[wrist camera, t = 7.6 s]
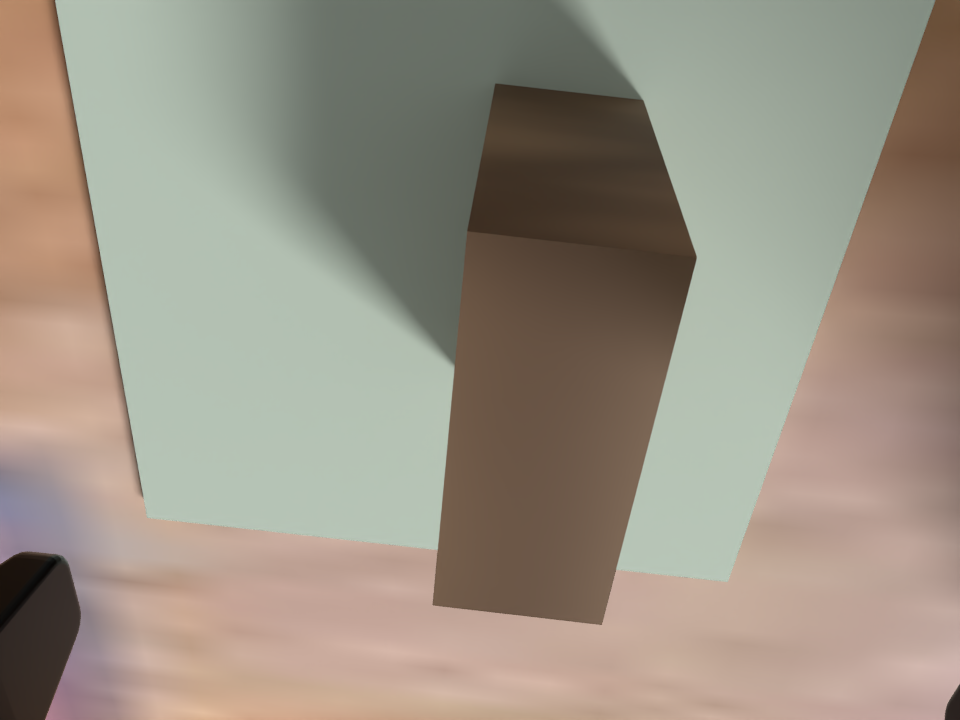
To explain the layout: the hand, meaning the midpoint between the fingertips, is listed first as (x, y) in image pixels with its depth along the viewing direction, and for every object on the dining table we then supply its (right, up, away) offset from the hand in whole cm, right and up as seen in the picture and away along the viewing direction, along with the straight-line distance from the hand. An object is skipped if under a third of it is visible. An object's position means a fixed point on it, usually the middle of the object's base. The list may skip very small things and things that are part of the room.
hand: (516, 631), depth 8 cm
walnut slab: (+1, +5, +7) cm, 9 cm away
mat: (-1, +5, +8) cm, 9 cm away
